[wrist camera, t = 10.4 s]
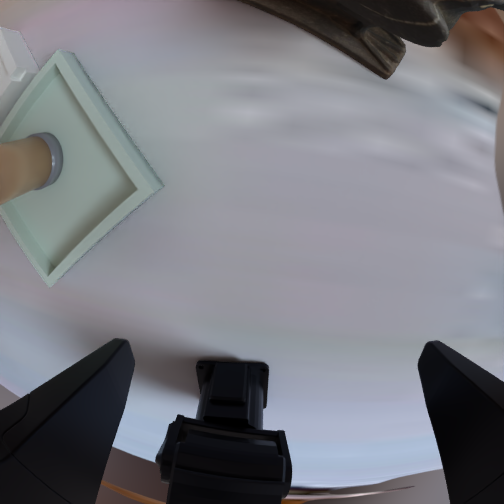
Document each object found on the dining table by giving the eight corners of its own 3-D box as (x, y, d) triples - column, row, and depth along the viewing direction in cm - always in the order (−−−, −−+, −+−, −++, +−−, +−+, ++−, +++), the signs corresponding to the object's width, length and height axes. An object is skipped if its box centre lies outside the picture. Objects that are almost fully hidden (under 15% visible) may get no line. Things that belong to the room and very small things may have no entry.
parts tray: (164, 185, 19) (154, 192, 17) (61, 277, 22) (49, 288, 20) (73, 53, 15) (58, 48, 13) (-9, 165, 18) (-23, 170, 16)
